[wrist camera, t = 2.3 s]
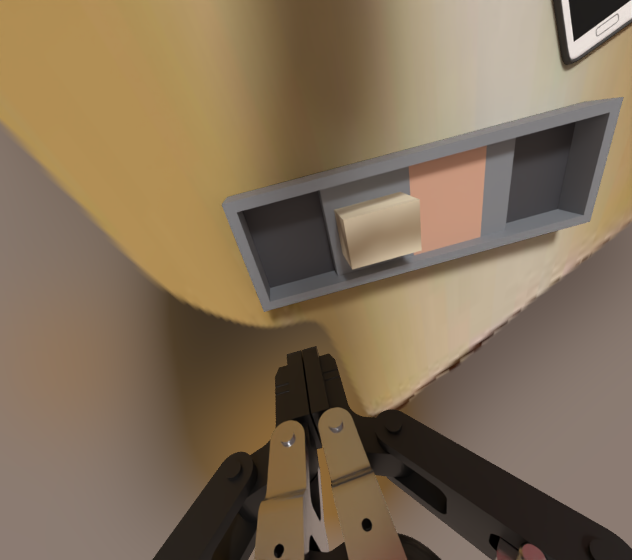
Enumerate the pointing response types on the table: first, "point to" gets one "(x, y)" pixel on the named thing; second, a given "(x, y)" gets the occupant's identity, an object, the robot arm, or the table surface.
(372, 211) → the birch block
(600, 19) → the cell phone
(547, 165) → the channel
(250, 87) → the table surface
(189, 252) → the table surface
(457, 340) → the table surface
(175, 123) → the table surface
